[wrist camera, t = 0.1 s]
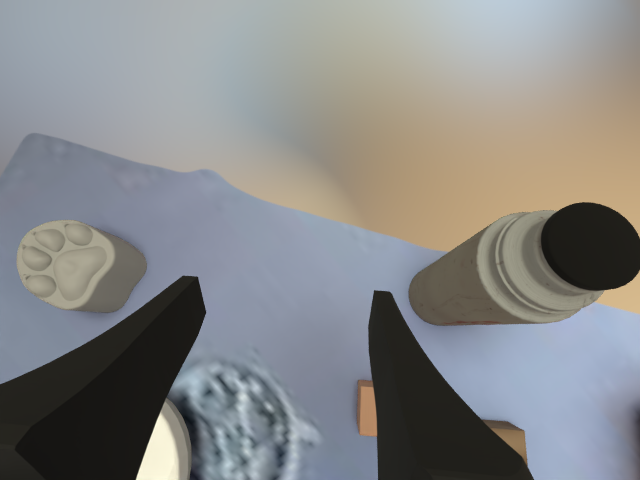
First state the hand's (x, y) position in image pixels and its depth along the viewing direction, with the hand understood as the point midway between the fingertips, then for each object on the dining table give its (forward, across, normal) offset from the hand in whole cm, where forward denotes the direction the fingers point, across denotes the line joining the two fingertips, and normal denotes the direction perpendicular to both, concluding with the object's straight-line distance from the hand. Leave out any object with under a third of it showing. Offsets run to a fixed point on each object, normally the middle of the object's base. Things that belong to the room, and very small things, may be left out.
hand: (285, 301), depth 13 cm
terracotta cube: (+14, -8, +30) cm, 34 cm away
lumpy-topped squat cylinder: (+25, +33, +21) cm, 47 cm away
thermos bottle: (+24, -16, +21) cm, 36 cm away
